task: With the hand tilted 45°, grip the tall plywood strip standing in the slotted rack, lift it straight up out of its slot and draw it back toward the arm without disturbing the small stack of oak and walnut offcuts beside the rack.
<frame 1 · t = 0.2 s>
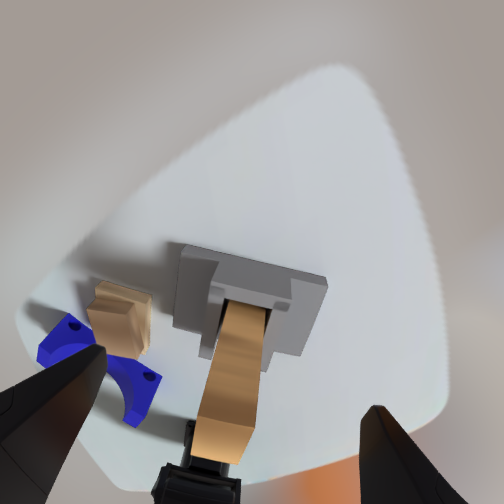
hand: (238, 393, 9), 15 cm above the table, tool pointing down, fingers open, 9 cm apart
rack: (246, 299, 25), on the table
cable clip: (109, 354, 30), on the table
tall strip: (245, 309, 23), point 1 cm above the table, touching rack
lower offcut: (128, 311, 27), on the table
upper offcut: (119, 323, 25), point 1 cm above the table
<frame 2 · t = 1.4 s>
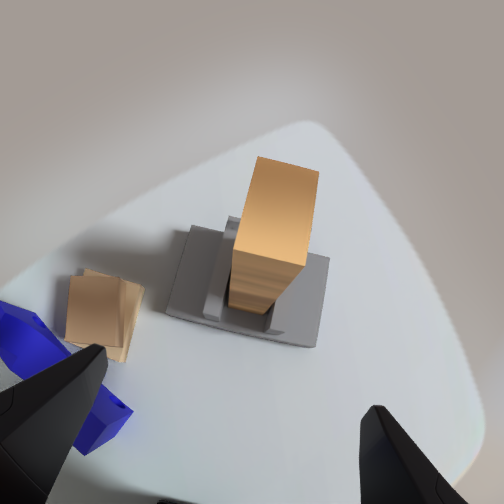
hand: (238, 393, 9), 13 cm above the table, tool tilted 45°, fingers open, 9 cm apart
rack: (249, 289, 24), on the table
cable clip: (66, 380, 20), on the table
tall strip: (251, 284, 22), point 1 cm above the table, touching rack
lower offcut: (109, 317, 22), on the table
upper offcut: (100, 313, 21), point 1 cm above the table
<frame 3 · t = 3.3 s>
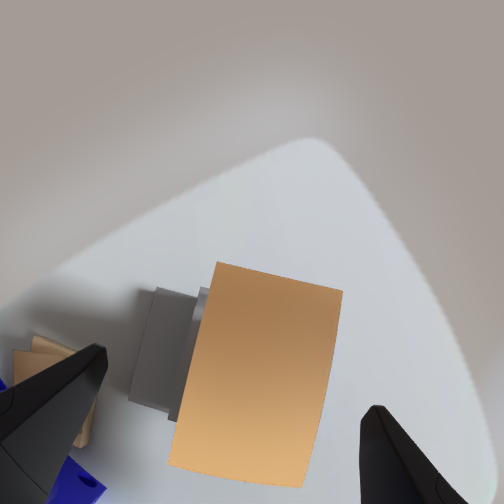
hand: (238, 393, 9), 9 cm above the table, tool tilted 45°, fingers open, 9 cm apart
rack: (233, 368, 18), on the table
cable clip: (33, 446, 14), on the table
tall strip: (234, 369, 16), point 1 cm above the table, touching rack
lower offcut: (67, 390, 16), on the table, touching upper offcut
upper offcut: (52, 392, 14), point 1 cm above the table, touching lower offcut
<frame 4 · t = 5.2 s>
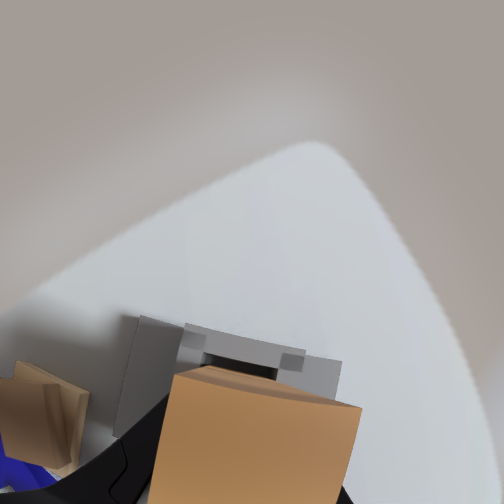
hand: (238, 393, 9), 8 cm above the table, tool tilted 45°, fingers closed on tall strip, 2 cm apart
rack: (226, 403, 15), on the table
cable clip: (21, 468, 12), on the table
tall strip: (226, 407, 14), point 1 cm above the table, touching gripper, rack
lower offcut: (53, 418, 14), on the table, touching upper offcut
upper offcut: (38, 420, 12), point 1 cm above the table, touching lower offcut
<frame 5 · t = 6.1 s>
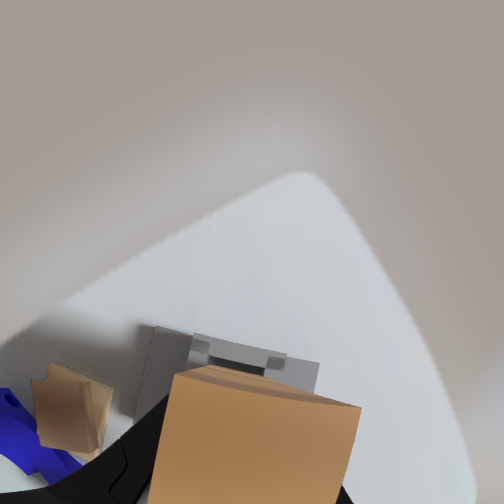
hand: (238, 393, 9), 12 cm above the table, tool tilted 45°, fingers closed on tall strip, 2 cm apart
rack: (225, 396, 19), on the table
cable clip: (47, 456, 16), on the table
tall strip: (226, 406, 14), point 6 cm above the table, touching gripper
lower offcut: (80, 411, 18), on the table, touching upper offcut
upper offcut: (69, 413, 16), point 1 cm above the table, touching lower offcut
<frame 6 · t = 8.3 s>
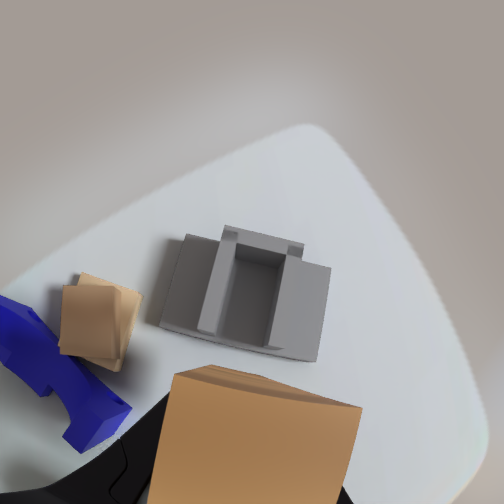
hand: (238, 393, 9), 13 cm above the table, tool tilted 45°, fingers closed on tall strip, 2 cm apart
rack: (247, 301, 23), on the table
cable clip: (62, 376, 19), on the table
tall strip: (226, 406, 14), point 6 cm above the table, touching gripper
lower offcut: (105, 323, 21), on the table, touching upper offcut
upper offcut: (95, 324, 19), point 1 cm above the table, touching lower offcut
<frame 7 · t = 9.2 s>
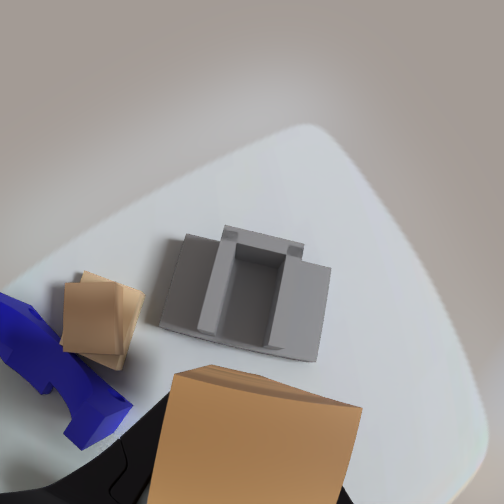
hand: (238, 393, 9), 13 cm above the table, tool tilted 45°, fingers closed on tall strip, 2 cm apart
rack: (247, 301, 23), on the table
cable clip: (63, 374, 19), on the table
tall strip: (226, 406, 14), point 6 cm above the table, touching gripper
lower offcut: (107, 322, 21), on the table
upper offcut: (97, 321, 20), point 1 cm above the table
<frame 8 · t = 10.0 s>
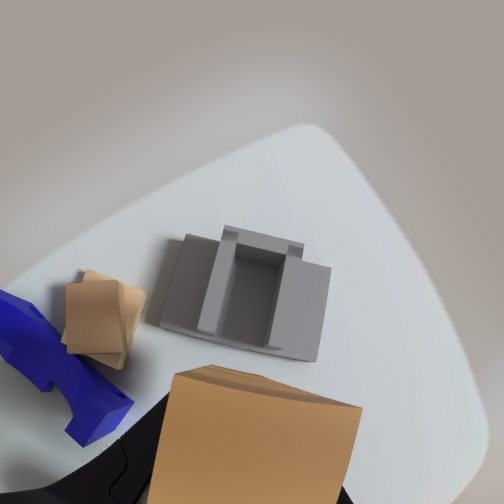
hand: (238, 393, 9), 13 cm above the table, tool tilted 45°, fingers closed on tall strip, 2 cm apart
rack: (247, 301, 23), on the table
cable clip: (64, 371, 19), on the table
tall strip: (226, 406, 14), point 6 cm above the table, touching gripper
lower offcut: (109, 321, 21), on the table, touching upper offcut
upper offcut: (100, 320, 20), point 1 cm above the table, touching lower offcut
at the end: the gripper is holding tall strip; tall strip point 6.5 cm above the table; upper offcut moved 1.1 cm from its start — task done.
